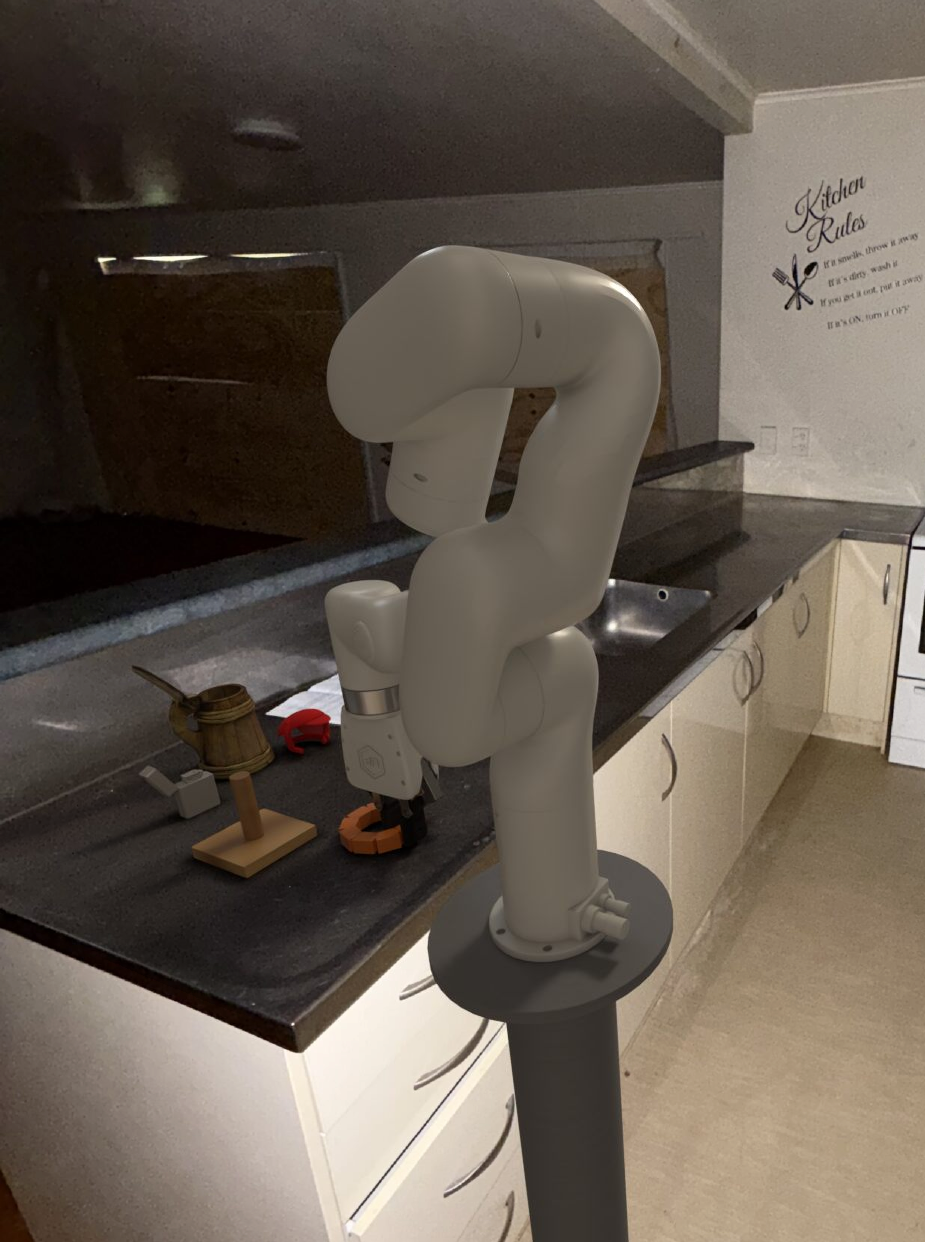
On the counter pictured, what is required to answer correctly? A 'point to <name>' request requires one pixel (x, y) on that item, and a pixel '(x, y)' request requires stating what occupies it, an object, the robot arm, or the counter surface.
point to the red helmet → (305, 727)
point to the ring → (368, 840)
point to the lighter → (186, 790)
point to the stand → (252, 834)
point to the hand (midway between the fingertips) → (406, 836)
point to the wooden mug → (218, 727)
